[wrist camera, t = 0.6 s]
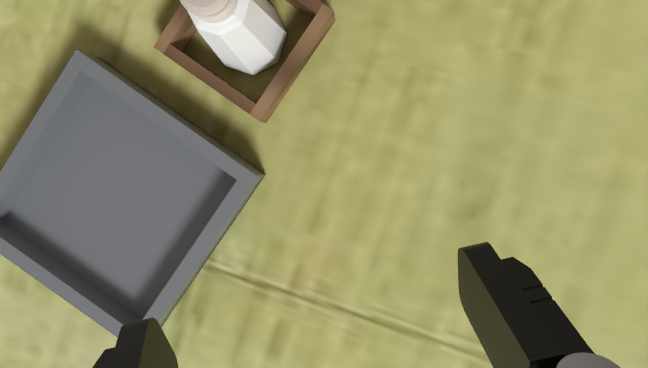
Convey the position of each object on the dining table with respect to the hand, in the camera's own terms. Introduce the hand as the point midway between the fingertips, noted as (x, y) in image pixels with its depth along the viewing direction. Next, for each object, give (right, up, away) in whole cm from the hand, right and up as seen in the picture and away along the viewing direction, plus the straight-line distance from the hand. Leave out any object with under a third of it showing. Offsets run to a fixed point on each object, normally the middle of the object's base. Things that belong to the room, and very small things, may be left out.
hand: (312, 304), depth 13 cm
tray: (-14, +2, +24) cm, 28 cm away
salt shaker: (-5, +14, +23) cm, 27 cm away
